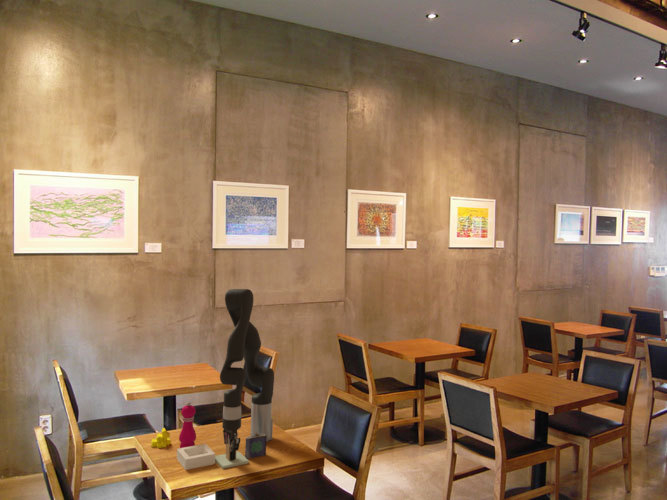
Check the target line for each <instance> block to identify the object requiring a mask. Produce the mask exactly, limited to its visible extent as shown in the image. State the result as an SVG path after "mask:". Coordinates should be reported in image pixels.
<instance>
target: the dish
mask: <svg viewBox="0 0 667 500" xmlns="http://www.w3.org/2000/svg"><path fill="white" fill-rule="evenodd" d="M215 456H216V453H215V452H214V450H212V449H211V448H210V447H209V445H208V444H207V443H201V444H195V446H190V447H184V448H180V447H179V448H177V449H176V460H177V461H178V462H179V464H180V465H181V466H182V468H183V469H184V470H185V471H187V470H192V469H197V468H202V467H208V466H211V465H215V464H216V462H215Z"/></svg>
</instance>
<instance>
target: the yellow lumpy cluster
mask: <svg viewBox="0 0 667 500" xmlns="http://www.w3.org/2000/svg"><path fill="white" fill-rule="evenodd" d="M170 438H171V433H170V432H169V431H167V430H166V428H165V427H163V428H161V433H157V435H156V437H155V438H154V437H153V438H152V439H151V441H150V443H151V444H150V446H151V448H155V447H156V448H157V449H161V448H167V446H169V444H172V439H170Z"/></svg>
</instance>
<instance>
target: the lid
mask: <svg viewBox="0 0 667 500" xmlns="http://www.w3.org/2000/svg"><path fill="white" fill-rule="evenodd" d="M231 443H233V442H231ZM215 461H216V462H217V463H218V464H219V465H220V466H221V467H220V466H219V465H218V464H217V463H216V462H215V463H216V464H217V465H218V466H219V467H220V468H221V469H222V470H224V468H226V469H229V467H230V468H234V467H233V466H235V467H238V465H240V466H243V464H244V465H248V464H249V461H250V460H249V459H246V458H245V455H243V454H242V453H241V452H240V451H239V450H237V451H236V458H235V460H230V445H229V443H226V444H225V453H224V454H223V453H222V454H219V455H215ZM247 463H248V464H247Z"/></svg>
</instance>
